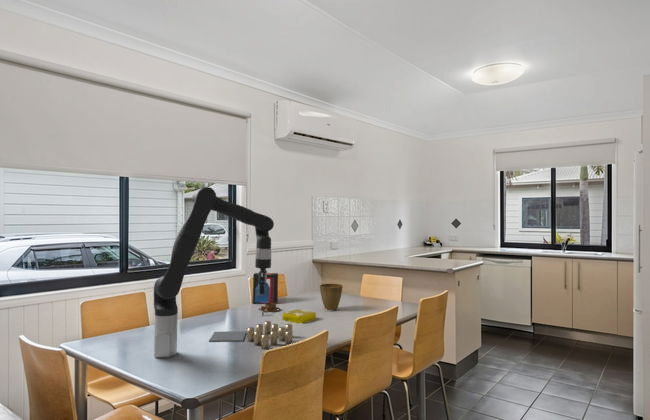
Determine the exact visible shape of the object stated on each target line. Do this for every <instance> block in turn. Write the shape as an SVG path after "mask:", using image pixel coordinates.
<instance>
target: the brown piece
mask: <svg viewBox="0 0 650 420" xmlns="http://www.w3.org/2000/svg"><path fill="white" fill-rule="evenodd" d="M277 309H279V310H281V308H280V307H278V306H277V304H276V303H266V304H264V306H262V305H261V306H260V308H258V310H260V311H261V312H262V311H263V312H262V313H261V316H262V317H264V315H265V313H268V312H273V313H278V312H280V311H279V310H277ZM273 310H274V311H273ZM277 311H278V312H277Z"/></svg>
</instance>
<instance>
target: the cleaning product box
mask: <svg viewBox="0 0 650 420" xmlns="http://www.w3.org/2000/svg"><path fill="white" fill-rule="evenodd" d="M252 277H253V279H252V280H253V281H252V282H253V283H252V305H265V304H266V303H261V302H255V289H256V287H257V285H258V283H259V272H254V274H253V276H252ZM266 283H268V285H269V287H270V295H269V302H268V303H276V305H278V303H277V302H279V296H278V295H279V272H275V273H274V272H272V273H271V272H267V280H266Z"/></svg>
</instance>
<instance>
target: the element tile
mask: <svg viewBox="0 0 650 420" xmlns="http://www.w3.org/2000/svg"><path fill="white" fill-rule="evenodd" d="M316 314H317V313H316V312H315V311H310V310H304V309H300V308H299V309H297V308H296V309H293V310H289V311H284V312H282V321H284V320H285V321H286V322H289V321H290V323H294V322H295V324H299V323H302V324H306V323H309V322H312V321H311V320H313V321H315V320H316V319H317V315H316ZM314 319H315V320H314ZM285 321H284V322H285ZM308 321H309V322H308ZM305 322H306V323H305Z"/></svg>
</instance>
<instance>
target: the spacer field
mask: <svg viewBox="0 0 650 420" xmlns="http://www.w3.org/2000/svg"><path fill="white" fill-rule="evenodd" d="M246 329H247V331H246V335H247V337H246V340H247V342H250V343H251V342H253V345H254V346H255V347H256V346H261V350H263V349H266V350H269V347H270V346H277V345H278V341H279V342H285V345H286V346H288V345H287V344H291V343H292V344H293V324H292V323H285V326H281V327H279V324H278V323H272V321H270V320H265V321H264V324H263V323H257V324H256V327H252V326H251V327H247V328H246ZM269 337H270V338H269ZM269 341H270V343H269ZM269 344H270V346H269Z"/></svg>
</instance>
